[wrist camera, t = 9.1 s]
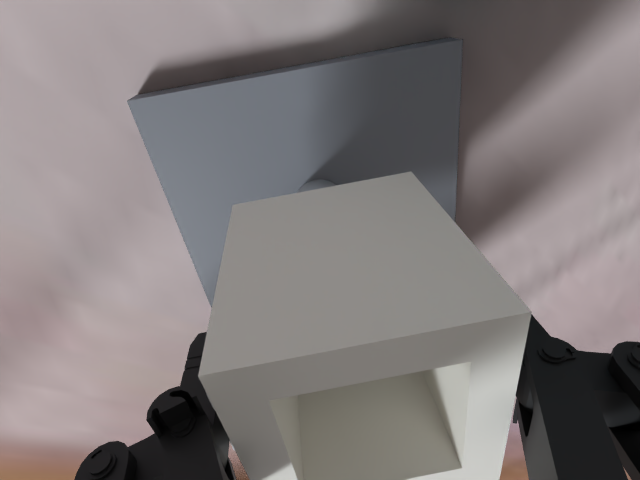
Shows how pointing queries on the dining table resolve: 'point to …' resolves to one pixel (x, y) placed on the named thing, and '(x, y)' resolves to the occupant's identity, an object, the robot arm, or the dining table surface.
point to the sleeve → (361, 339)
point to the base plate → (302, 135)
